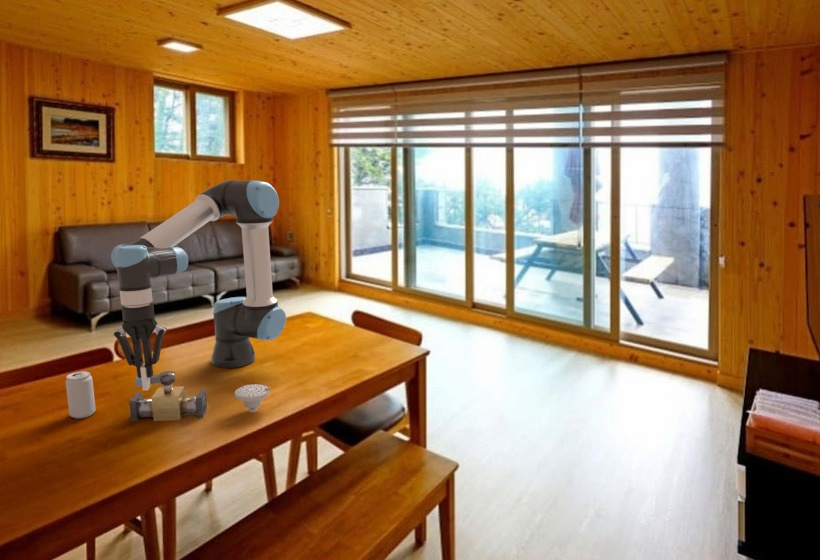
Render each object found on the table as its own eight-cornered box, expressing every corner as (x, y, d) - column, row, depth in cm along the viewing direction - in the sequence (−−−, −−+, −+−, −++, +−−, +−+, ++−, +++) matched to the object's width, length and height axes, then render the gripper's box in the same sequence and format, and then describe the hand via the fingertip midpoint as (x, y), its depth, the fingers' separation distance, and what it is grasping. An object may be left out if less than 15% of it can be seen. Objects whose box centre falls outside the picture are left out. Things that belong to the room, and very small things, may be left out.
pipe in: (180, 418, 154) (179, 398, 153) (185, 409, 160) (184, 390, 158) (203, 417, 155) (201, 397, 154) (207, 408, 161) (206, 389, 159)
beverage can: (89, 407, 160) (84, 368, 157) (100, 413, 156) (96, 373, 154) (65, 415, 155) (60, 375, 152) (76, 421, 151) (71, 380, 149)
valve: (153, 421, 152) (150, 388, 150) (160, 410, 159) (158, 378, 157) (180, 419, 153) (177, 387, 151) (186, 408, 160) (183, 377, 158)
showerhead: (267, 393, 154) (231, 394, 153) (268, 417, 155) (232, 418, 154) (273, 380, 163) (238, 381, 162) (274, 403, 164) (239, 404, 164)
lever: (175, 378, 157) (174, 370, 156) (175, 383, 153) (174, 375, 153) (137, 383, 153) (136, 374, 152) (136, 388, 149) (135, 380, 149)
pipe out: (131, 421, 152) (129, 401, 150) (138, 412, 158) (136, 392, 156) (154, 420, 153) (152, 400, 151) (160, 411, 158) (158, 391, 157)
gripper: (167, 299, 150) (175, 381, 154) (117, 302, 148) (127, 384, 152) (158, 306, 142) (167, 392, 147) (105, 308, 141) (116, 395, 145)
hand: (146, 388), depth 150 cm, fingers closed
